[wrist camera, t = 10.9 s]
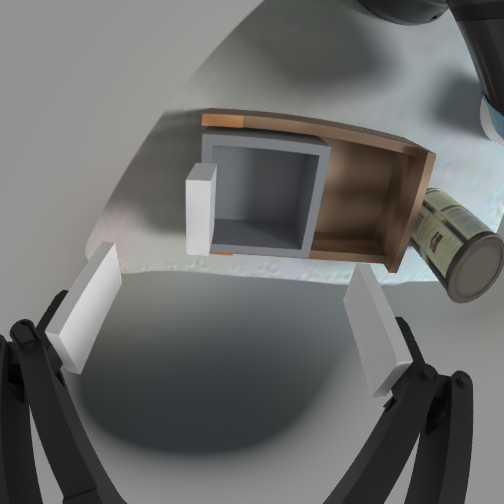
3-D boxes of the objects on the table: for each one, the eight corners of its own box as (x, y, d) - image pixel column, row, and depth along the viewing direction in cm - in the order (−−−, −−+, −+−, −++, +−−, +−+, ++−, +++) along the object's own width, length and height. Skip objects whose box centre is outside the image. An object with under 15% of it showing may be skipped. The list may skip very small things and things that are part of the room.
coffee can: (450, 239, 41) (496, 291, 30) (400, 252, 43) (441, 313, 31) (455, 183, 36) (513, 228, 24) (401, 193, 37) (455, 245, 25)
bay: (210, 108, 31) (199, 115, 24) (404, 137, 33) (436, 154, 26) (205, 227, 40) (196, 260, 33) (375, 241, 41) (396, 273, 35)
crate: (206, 123, 31) (186, 145, 21) (315, 133, 32) (347, 161, 22) (203, 221, 38) (187, 278, 28) (298, 228, 38) (316, 286, 28)
